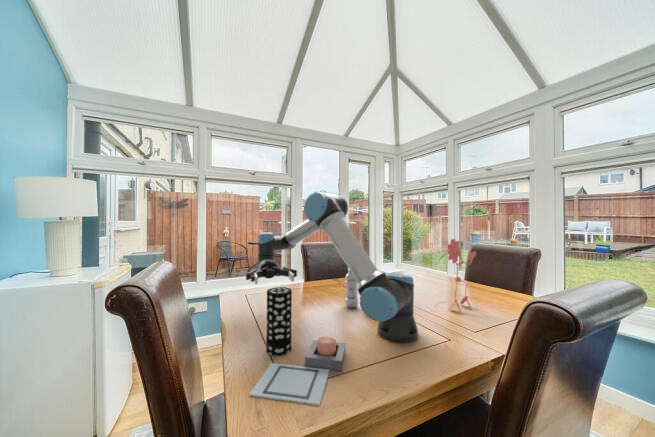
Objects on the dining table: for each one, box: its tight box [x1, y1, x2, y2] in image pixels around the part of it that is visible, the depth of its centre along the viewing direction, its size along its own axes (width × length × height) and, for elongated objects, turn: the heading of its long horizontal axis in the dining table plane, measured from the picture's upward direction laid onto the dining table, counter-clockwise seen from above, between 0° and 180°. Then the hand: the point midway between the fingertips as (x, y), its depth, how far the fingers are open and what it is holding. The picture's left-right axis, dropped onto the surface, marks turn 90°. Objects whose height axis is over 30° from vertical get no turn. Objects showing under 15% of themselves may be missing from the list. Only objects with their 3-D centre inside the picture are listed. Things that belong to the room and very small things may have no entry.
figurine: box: [435, 238, 480, 313], centre depth 130 cm, size 15×26×35 cm, turn 123°
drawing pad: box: [249, 362, 331, 406], centre depth 69 cm, size 18×14×1 cm
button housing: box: [304, 339, 347, 372], centre depth 81 cm, size 11×11×3 cm
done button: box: [317, 336, 337, 357], centre depth 81 cm, size 6×6×4 cm
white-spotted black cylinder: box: [265, 286, 293, 356], centre depth 86 cm, size 8×8×20 cm
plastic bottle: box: [344, 267, 359, 309], centre depth 128 cm, size 6×7×20 cm
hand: (275, 279), depth 96 cm, fingers open, 13 cm apart
